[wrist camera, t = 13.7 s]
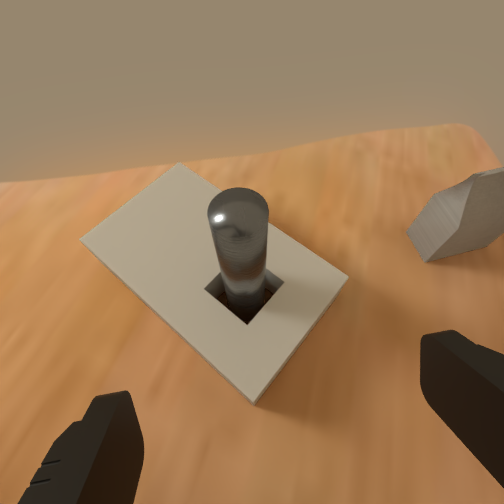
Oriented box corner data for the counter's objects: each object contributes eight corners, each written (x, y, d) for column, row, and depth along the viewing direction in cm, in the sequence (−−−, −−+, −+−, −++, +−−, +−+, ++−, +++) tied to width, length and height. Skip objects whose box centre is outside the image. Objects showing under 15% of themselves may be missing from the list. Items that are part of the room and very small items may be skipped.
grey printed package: (486, 246, 31) (575, 175, 22) (424, 262, 30) (491, 195, 22) (464, 217, 33) (539, 141, 24) (405, 231, 32) (460, 158, 23)
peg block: (99, 260, 31) (78, 239, 28) (186, 188, 35) (179, 161, 32) (253, 406, 24) (253, 402, 21) (338, 295, 29) (349, 276, 25)
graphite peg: (221, 306, 28) (194, 214, 16) (244, 281, 30) (235, 178, 17) (248, 328, 27) (240, 248, 15) (271, 302, 29) (281, 207, 16)
